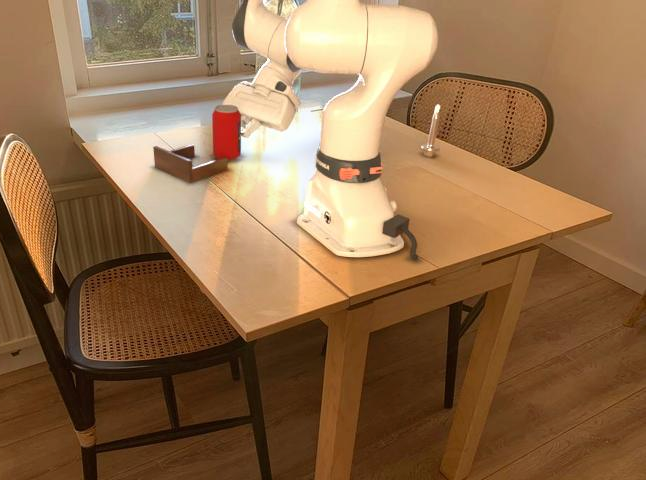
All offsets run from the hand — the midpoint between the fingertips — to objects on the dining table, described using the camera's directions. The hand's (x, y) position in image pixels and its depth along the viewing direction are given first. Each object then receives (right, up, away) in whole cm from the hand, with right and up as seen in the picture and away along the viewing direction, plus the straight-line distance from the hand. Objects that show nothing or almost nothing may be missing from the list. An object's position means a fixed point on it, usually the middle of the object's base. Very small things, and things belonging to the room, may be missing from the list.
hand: (241, 135), depth 143 cm
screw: (+48, -4, +7) cm, 48 cm away
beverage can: (-4, -6, -1) cm, 7 cm away
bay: (-11, -10, -8) cm, 17 cm away
